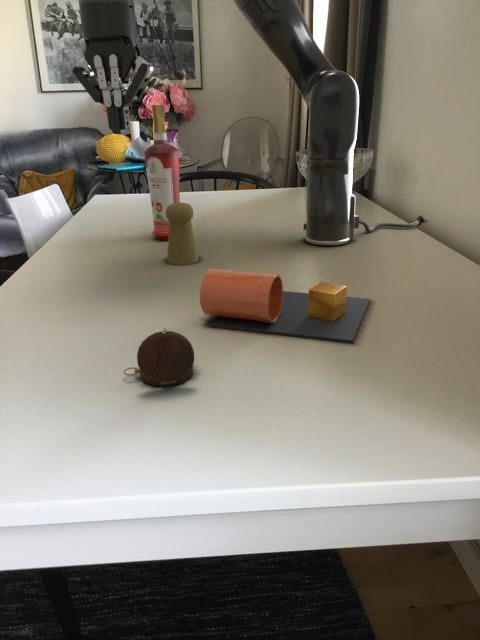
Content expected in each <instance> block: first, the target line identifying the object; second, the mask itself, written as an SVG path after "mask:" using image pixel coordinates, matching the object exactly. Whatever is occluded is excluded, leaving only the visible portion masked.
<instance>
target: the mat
mask: <svg viewBox="0 0 480 640" xmlns="http://www.w3.org/2000/svg"><path fill="white" fill-rule="evenodd" d="M370 302H371V299H370V298H364V297H354V296H346V312H345V313H344V314H343V315H341V316H340V317H339V318H337V319H336V320H335V321H330V320H325V319H321V318H316V317H311V316H308V306H309V292H298V291H286V290H283V301H282V307H281V311H280V314H279V317H278V319H277V321H276V322H275V323H266V322H259V321H251V320H243V319H235V318H226V317H218V316H215V318H214V319H213V320H211V322H210V323H208V326H209V327H210V328H218V329H224V330H225V329H227V330H236V331H242V332H243V331H244V332H253V333H260V334H261V333H262V334H268V335H277V336H278V335H280V336H287V337H295V338H305V339H312V340H313V339H314V340H320V341H321V340H322V341H329V342H330V341H331V342H340V343H347V344H353V343H354V341H355V339H356V336H357V334H358V331H359V329H360V326H361V325H362V321H363V320H364V317H365V314H366V312H367V309H368V307H369V304H370Z"/></svg>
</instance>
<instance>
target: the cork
mask: <svg viewBox="0 0 480 640" xmlns="http://www.w3.org/2000/svg"><path fill="white" fill-rule="evenodd" d="M166 217H167V219H168V220H169V240H167V241H168V243H167V244H168V245H167V261H166V262H167V263H168V264H171V265H178V266H180V265H181V266H182V265H191V264H195V263H197V262H198V261H199V255H198V250H197V244H196V240H195V234H194V229H193V224H192V219H194V209H193V206H192V205H191V204H190V203H186V202H180V203H174V204H171V205H169V206H168V207H167V209H166Z"/></svg>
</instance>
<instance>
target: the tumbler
mask: <svg viewBox="0 0 480 640" xmlns="http://www.w3.org/2000/svg"><path fill="white" fill-rule="evenodd" d="M283 291H284V283H283V279H282V277H281V275H280V274H278V273H262V272H251V271H243V270H242V271H241V270H231V269H219V268H209V269H208V270H207V271H206V272H205V274H204V275H203V277H202V280H201V283H200V290H199V304H200V309H201V311H202V312H203V314H204V315H205V316H209V317H210V316H211V317H217V316H218V317H226V318H235V319H243V320H251V321H259V322H266V323H275V322H276V321H277V319H278V317H279V314H280V311H281V307H282V301H283Z"/></svg>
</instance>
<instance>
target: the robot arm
mask: <svg viewBox="0 0 480 640" xmlns="http://www.w3.org/2000/svg"><path fill="white" fill-rule="evenodd" d="M232 1H233V2H234V4H235V6H236V7H237V9H238V10H239V11H240V14H242V16H243V17H244V18H245V20H246V21H247V23H248V24H249V26H250V27H251V29H252V30H253V31H254V32H255V34H256V35H257V36H258V37H259V39H260V40H261V41H262V42H263V44H264V45H265V46H266V48H268V50H269V51H270V53H272V54H273V56H274V57H275V58H276V59H277V60H278V61H279V62H280V63H281V65H282V66H283V67H284V69H285V70H286V72H287V73H288V74H289V76H290V78H291V79H292V81H293V83H294V84H295V86H296V88H297V90H298V91H299V93H300V95H301V97H302V99H303V101H304V103H305V105H306V107H307V108H308V110H309V135H308V141H307V145H306V197H305V198H306V201H305V203H306V205H305V207H306V208H305V209H306V210H305V218H306V219H305V223H303V231H305V236H304V237H305V238H304V240H305V241H306V243H309V244H312V245H316V246H332V247H333V246H340V245H345V244H348V243H349V242H354V237H355V230H356V229H359V228H360V225H362V226H363V227H364V230H365V231H366V232H368V233H372V232H374V230H375V229H377V228H381V227H385V228H386V227H388V228H389V227H390V228H403V229H406V228H413V227H416V226H417V225H419V224H420V222H421V223H425V222H426V221H425V219H424V217H423V216H422V215H418V216H417V218H416V220H414V222H411V223H396V222H394V223H393V222H378V223H375V224H374V223H373V224H372V226H371V227H369V224H368V223H367V222H366V221H365V220H363V219H360V216H359V215H357V214H355V213H356V195H355V194H353V193H352V192H353V191H352V190H353V169H354V150H355V147H356V142H357V135H358V123H359V122H358V121H359V110H360V109H359V107H360V94H359V88H358V85H357V82H356V80H355V79H354V78H353V77H352V75H350V74H349V73H347V72H345V71H343V70H338V69H336V67H335V66H333V65H334V64H332V63H331V62H330V60H329V59H328V58H327V56H325V53H323V52H322V50H321V48H320V47H319V46H318V44H317V42H316V41H315V39H314V37H313V34H312V32H311V30H310V28H309V25H308V23H307V20H306V18H305V15H304V14H303V12H302V9H301V7H300V5H299V3H298V1H297V0H232ZM78 8H79V16H80V25H81V32H82V33H81V34H82V38H83V40H84V43H85V49H84V52H83V57H84V60H83V61H82V62H81V64H80V65H79V66H74V67H73V68H72V74H73V76H75V78H76V79H77V81H78V82H79V83H80V84H81V85H82V87H83V88H84V90H85V91H86V93H87V94H88V95H89V96H90V97H91V99H92V100H93V101H94V103H98V104H101V105H102V106H103V105H104V106H105V108H106V115H107V123H108V128H109V130H110V131H111V133H112V134H113V135H126V134H128V131H129V130H130V129H131V121H130V111H129V108H130V105H131V104H133V103H135V102H136V103H137V102H140V100H141V98H142V96H143V95H144V92H145V90H146V89H147V87H148V86H149V83H150V82H151V80H152V78H153V76H154V74H155V73H156V70H157V69H156V68H157V67H156V65H155V64H154V63H149V62H147V60H146V59H144V58H143V57H142V56H141V55H142V54H141V49H140V48H139V46H138V43H137V39H138V31H137V20H136V9H135V0H78ZM133 73H135V75H134V77H133V78H132V76H133ZM94 75H95V76H96V77H95V76H94ZM96 78H97V79H96Z"/></svg>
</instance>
